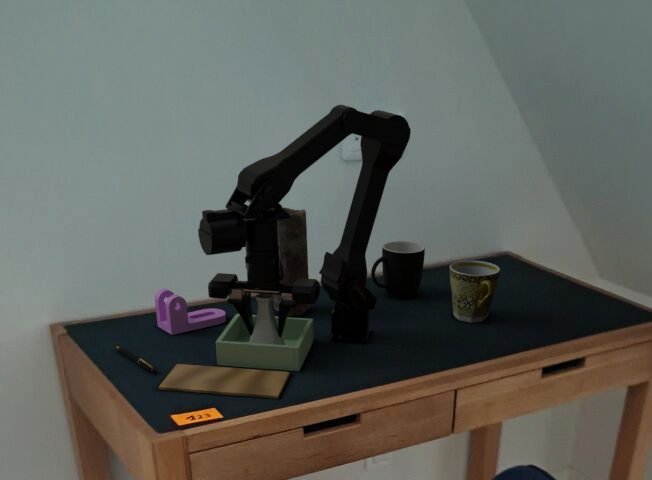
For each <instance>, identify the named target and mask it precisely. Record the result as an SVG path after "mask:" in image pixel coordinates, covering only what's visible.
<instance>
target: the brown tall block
mask: <svg viewBox="0 0 652 480" xmlns="http://www.w3.org/2000/svg"><path fill="white" fill-rule="evenodd" d="M283 209H284V210H285V211H286V212H287V213H289V214H290V216H291V217H290V218H289V219H282V220H278V222H279V250H280V253H281V258H282V259H285V260H286V277H285V278H284V280H283V281H281V283H284V284H294V283H295V281H296V279H297V278H306V279H310V277H309V275H310V274H309V253H308V252H309V251H308V227H307V211H306V210H305V209H294V208H293V209H292V208H289V207H283ZM282 299H283V297H282V295H277V294H273V300H272V301H273V307H274V310H275V311H277V312H278V313H279V303H280V302H281V300H282ZM310 308H311V304H297V306H296V307H295V308H291V309H290V312H289V314H288V317H295V316H301V315H303V314H304V313H305V312H307V311H309V310H310Z"/></svg>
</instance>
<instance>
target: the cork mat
mask: <svg viewBox="0 0 652 480" xmlns="http://www.w3.org/2000/svg"><path fill="white" fill-rule="evenodd" d="M290 375H291V373H290V371H284V370H270V369H256V368H242V367H228V366H212V365H198V364H185V363H176V364H175V365H174V367H173V368H172V369H171V371H170V372H168V374H167V375H166V377H165V378H164V379H163V381H162V382H161V383H160V385H159V386H158V390H159V391H172V392H174V391H175V392H183V393H184V392H186V393H198V394H212V395H214V394H215V395H224V396H225V395H226V396H238V397H252V398H266V399H279V398H280V395H281V393H282V391H283V389H284V387H285V385H286V383H287V381H288V379H289V377H290Z"/></svg>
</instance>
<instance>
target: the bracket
mask: <svg viewBox="0 0 652 480" xmlns="http://www.w3.org/2000/svg"><path fill="white" fill-rule="evenodd" d="M165 299H166V300H165ZM154 306H155V311H156V312H155V313H156V314H155V315H156V321H157V322H156V323H157V328H159V329H162V330H163V331H165V332H166V333H167V334H170V335H171V336H173V335H178V334H182V333H183V334H184V333H187V332H190V331H195V330H200V329H204V328H208V327H214V326H217V325H221V324H224V323H226V321H227V317H226V316H227V315H226V314H227V313H226V311H225V310H223V309H221V308H212V307H211V308H203V309H199V310H194V311H191V312H189V311H188V304H187V301H186V299H185V298H183V297H182V296H181V295H179V294H175V293H174V292H173V291H171V290H169V289H168V288H161V289H159V290H158V291H157V292H156V293H155V296H154Z"/></svg>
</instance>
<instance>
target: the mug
mask: <svg viewBox="0 0 652 480" xmlns="http://www.w3.org/2000/svg"><path fill="white" fill-rule="evenodd" d="M381 248H382V249H381V250H382V251H381V256H380V257H379V258H377V259H376V260H375V261H374V263H373V264H372V266H371V272H370V276H371V280H372V282H373V283H374V285H375V286H376V287H378V288H381V289H384V290H385V292H386V295H387V296H388V297H391V298H393V299H399V300H408V299H412V298H414V297H416V296H417V294H418V292H419V290H420V286H421V282H422V278H423V272H424V264H425V255H426V254H425V253H426V247H425V246H424V245H423V244H421V243H419V242H414V241H410V240H409V241H408V240H395V241H394V240H393V241H388V242H385V243H384V244H382V247H381ZM380 264H381V265H382V279H383V283H380V282H378V280H377V278H376V272H377V267H378V266H379V265H380Z"/></svg>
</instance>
